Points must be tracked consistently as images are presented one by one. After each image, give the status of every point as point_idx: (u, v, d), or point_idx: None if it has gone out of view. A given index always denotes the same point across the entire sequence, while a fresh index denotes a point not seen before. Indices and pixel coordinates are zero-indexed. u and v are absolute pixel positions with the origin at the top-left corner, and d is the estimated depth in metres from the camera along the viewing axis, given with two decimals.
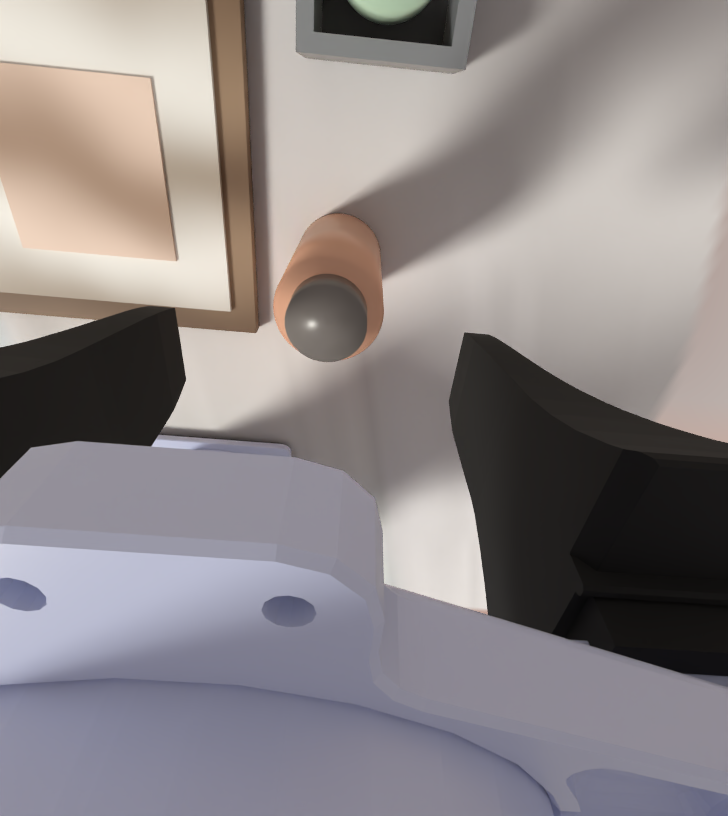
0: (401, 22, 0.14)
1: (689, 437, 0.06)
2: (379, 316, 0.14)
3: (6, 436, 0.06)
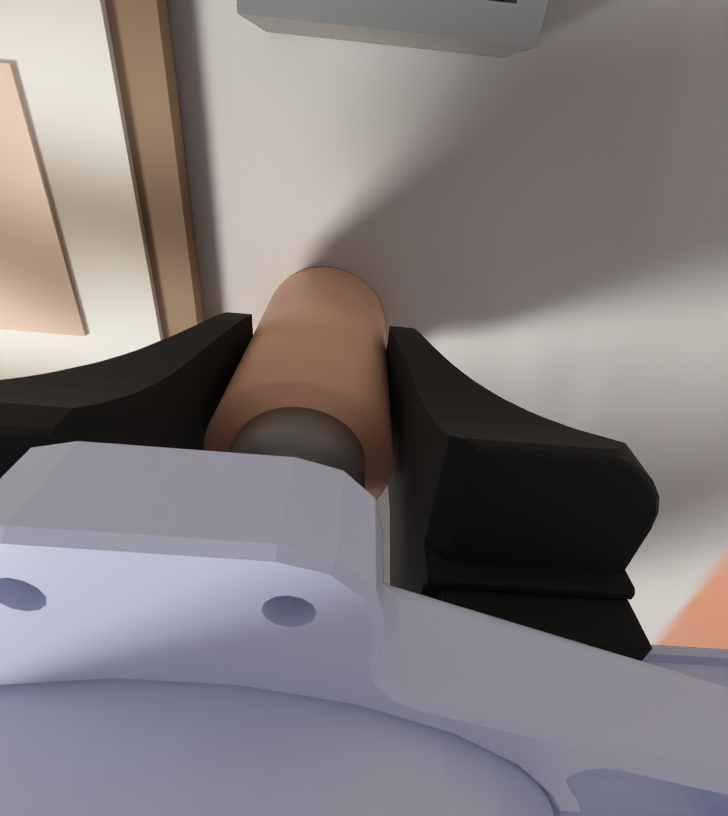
0: None
1: (551, 426, 0.06)
2: (385, 468, 0.08)
3: None
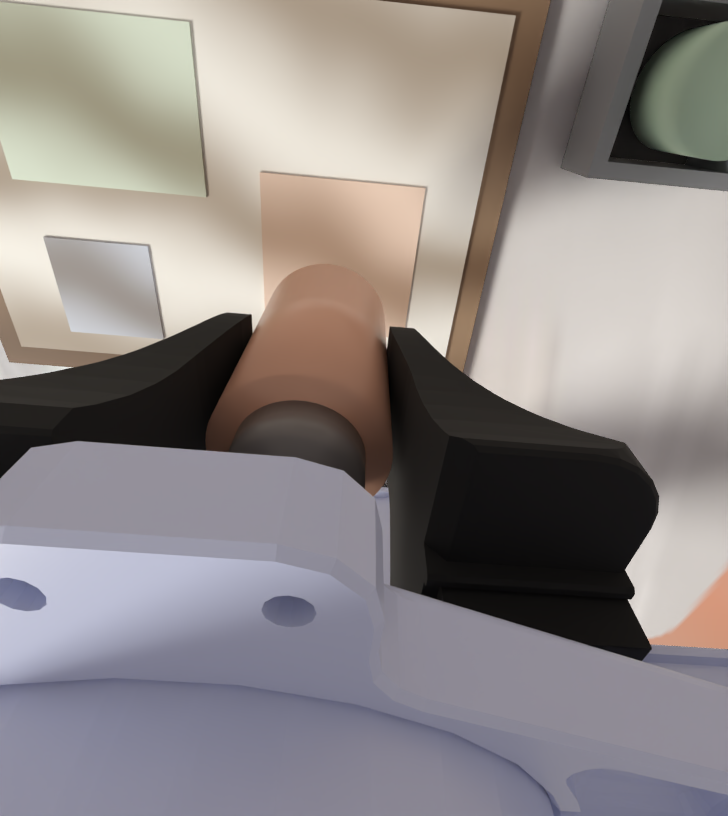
0: None
1: (551, 426, 0.06)
2: (386, 458, 0.08)
3: None
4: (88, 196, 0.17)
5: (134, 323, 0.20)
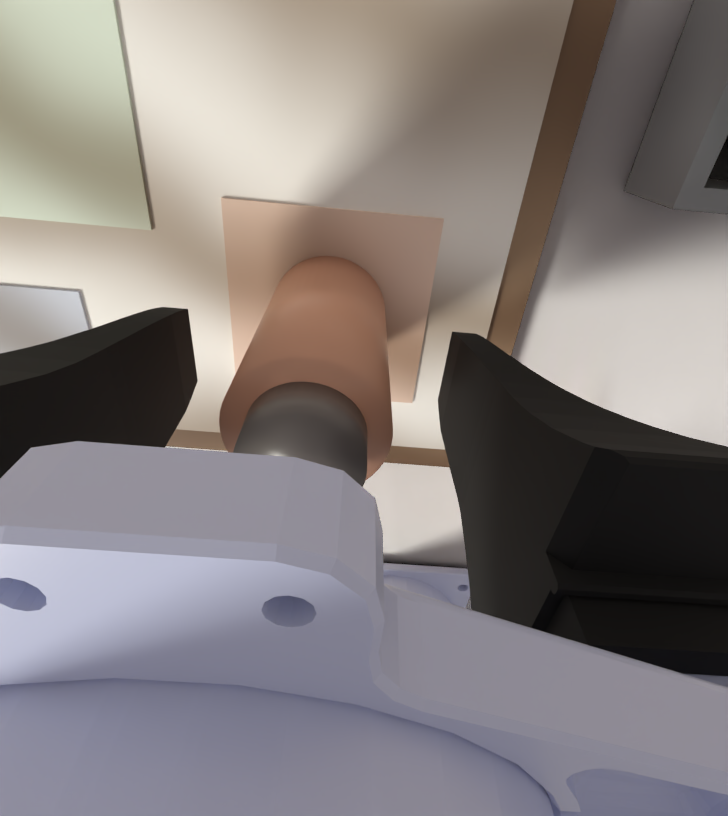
0: None
1: (666, 435, 0.06)
2: (386, 436, 0.09)
3: (30, 437, 0.06)
4: None
5: None
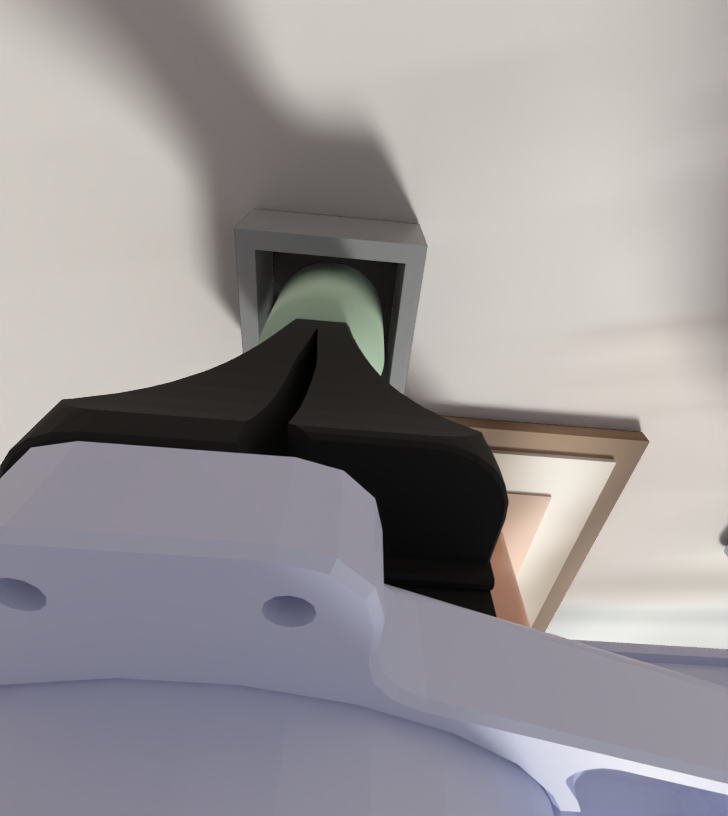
0: (381, 305, 0.14)
1: (423, 416, 0.06)
2: None
3: (271, 455, 0.06)
4: None
5: None
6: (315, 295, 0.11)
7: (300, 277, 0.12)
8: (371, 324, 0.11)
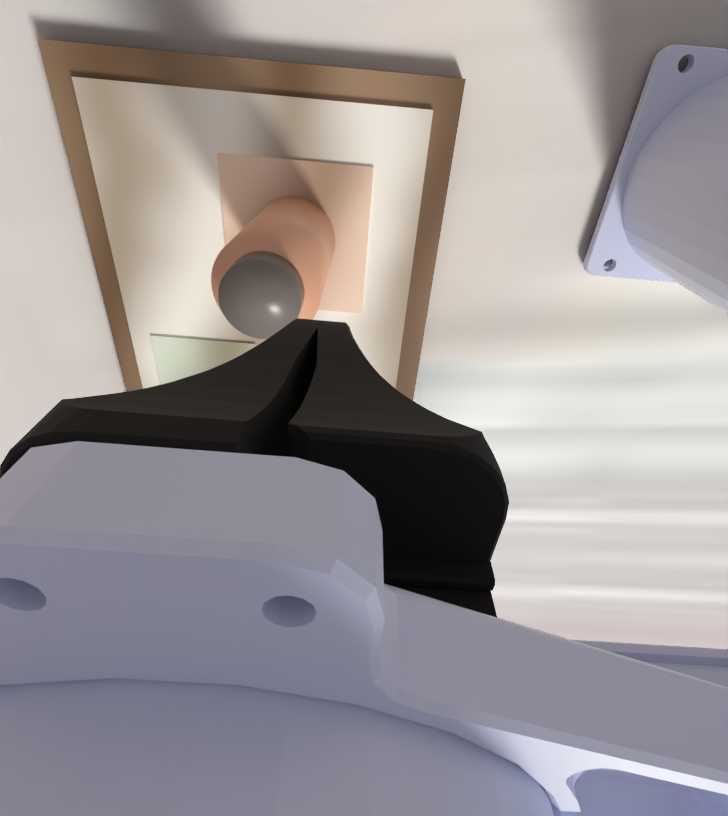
0: None
1: (423, 416, 0.06)
2: (261, 237, 0.13)
3: (271, 455, 0.06)
4: None
5: None
6: None
7: None
8: None
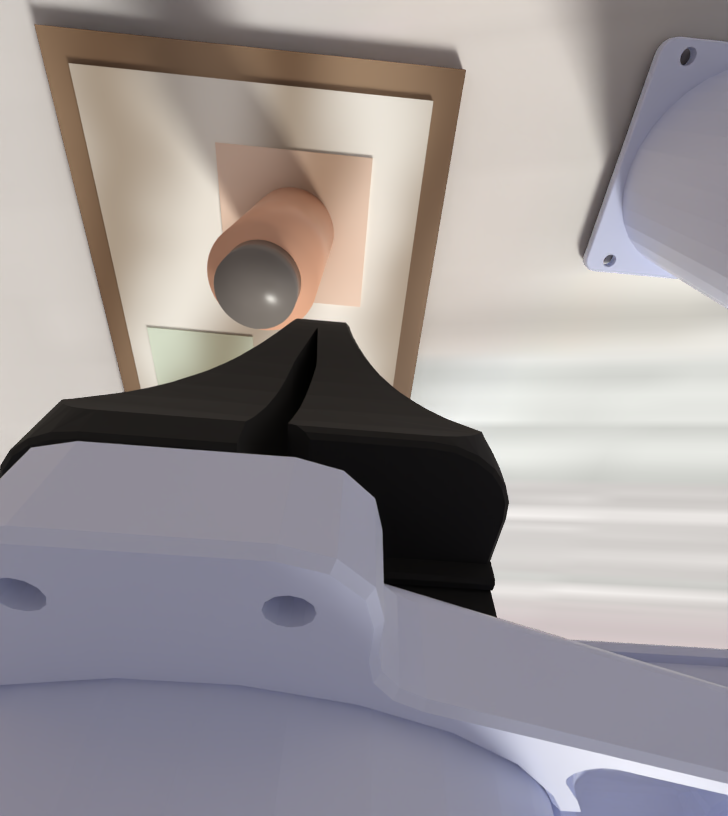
0: None
1: (423, 416, 0.06)
2: (257, 226, 0.13)
3: (271, 455, 0.06)
4: None
5: None
6: None
7: None
8: None
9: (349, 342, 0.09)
